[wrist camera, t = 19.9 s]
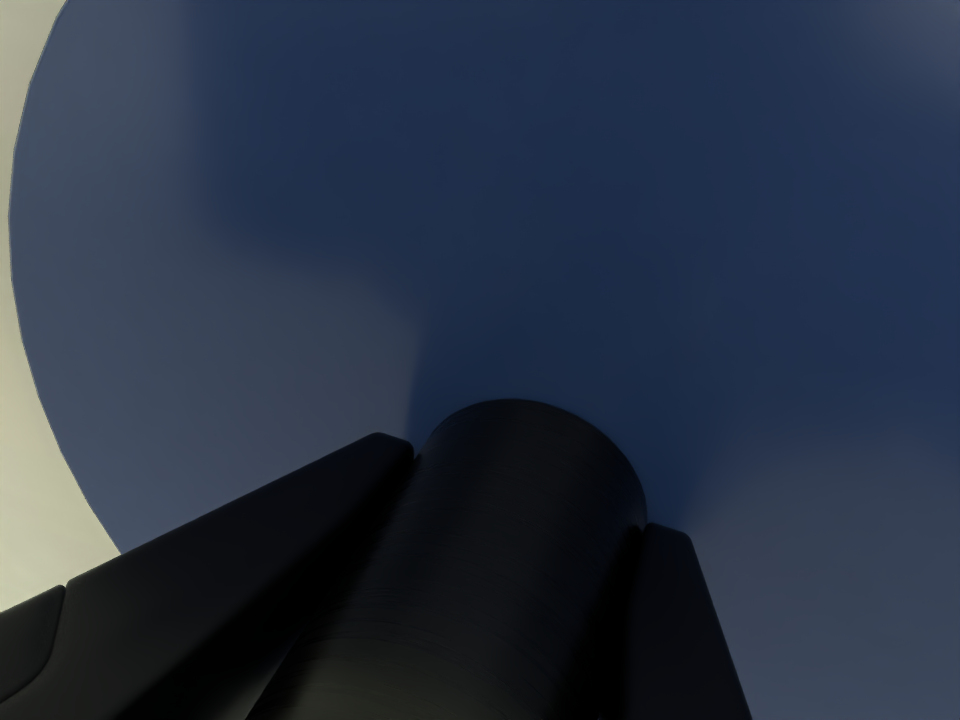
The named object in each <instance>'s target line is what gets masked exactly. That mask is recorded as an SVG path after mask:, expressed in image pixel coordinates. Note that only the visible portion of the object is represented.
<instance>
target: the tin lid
mask: <svg viewBox="0 0 960 720" xmlns="http://www.w3.org/2000/svg"><path fill="white" fill-rule="evenodd" d="M8 225H9V246H10V266H11V281H12V287H13V293H14V299H15V304H16V310H17V316H18V322H19V327H20V333H21V339H22V343H23V346H24V350H25V353H26V356H27V360H28V363H29V367H30V370H31V373H32V377H33V380H34V384H35V387H36V391H37V394H38V397H39V400H40V402H41V405H42V407H43V410H44V412H45V415H46V417H47V419H48V422H49V424H50V427H51V429H52V432H53V434H54V436H55V439H56V441H57V444H58V446H59V449H60V451H61V453H62V455H63V457H64V459H65V461H66V463H67V465H68V467H69V468H70V470H71V472H72V474H73V476H74V478H75V480H76V482H77V484H78V486H79V487H80V489H81V491H82V493H83V495H84V497H85V499H86V501H87V503H88V504H89V506H90V507H91V509H92V510H93V512H94V514H95V515H96V517H97V518H98V520H99V521H100V523H101V524H102V526H103V527H104V529H105V531H106V532H107V534H108V535H109V537H110V538H111V540H112V541H113V543H114V545H115V546H116V548H117V549H118V551H119V552H120V553H121V555H122V554H124V553H126V552H128V551H130V550H132V549H134V548H136V547H139V546H141V545H143V544H145V543H147V542H149V541H151V540H153V539H155V538H157V537H159V536H161V535H163V534H165V533H167V532H169V531H171V530H174V529H176V528H178V527H180V526H182V525H184V524H186V523H188V522H190V521H192V520H194V519H196V518H198V517H200V516H202V515H204V514H207V513H209V512H211V511H213V510H215V509H217V508H219V507H221V506H223V505H225V504H227V503H229V502H231V501H233V500H235V499H237V498H239V497H242V496H244V495H246V494H248V493H250V492H252V491H254V490H256V489H258V488H260V487H262V486H264V485H266V484H268V483H270V482H272V481H275V480H277V479H279V478H281V477H283V476H285V475H287V474H289V473H291V472H293V471H295V470H297V469H299V468H301V467H303V466H305V465H307V464H310V463H312V462H314V461H316V460H318V459H320V458H322V457H324V456H326V455H328V454H330V453H332V452H334V451H336V450H338V449H340V448H343V447H345V446H347V445H349V444H351V443H353V442H355V441H357V440H359V439H361V438H363V437H365V436H367V435H369V434H372V433H376V432H381V433H385V434H388V435H391V436H394V437H397V438H400V439H403V440H406V441H409V442H410V443H411V444H412V446H413V447H414V461H413V462H412V464H411V465H410V467H409V468H408V470H407V472H406V473H405V475H404V476H403V478H402V479H401V481H400V482H399V484H398V485H397V487H396V488H395V490H394V491H393V493H392V494H391V496H390V498H389V499H388V501H387V502H386V504H385V505H384V507H383V508H382V510H381V511H380V513H379V514H378V516H377V517H376V519H375V521H374V522H373V524H372V525H371V527H370V528H369V530H368V531H367V533H366V534H365V536H364V537H363V539H362V540H361V542H360V543H359V545H358V547H357V548H356V550H355V551H354V553H353V554H352V556H351V557H350V559H349V560H348V562H347V563H346V565H345V566H344V568H343V569H342V571H341V573H340V574H339V576H338V577H337V579H336V580H335V582H334V583H333V585H332V586H331V588H330V589H329V591H328V592H327V594H326V596H325V597H324V599H323V600H322V602H321V603H320V605H319V606H318V608H317V609H316V611H315V612H314V614H313V615H312V617H311V618H310V620H309V622H308V623H307V625H306V626H305V628H304V629H303V631H302V632H301V634H300V635H299V637H298V638H297V640H296V641H295V643H294V645H293V646H292V648H291V649H290V651H289V652H288V654H287V655H286V657H285V658H284V660H283V661H282V663H281V664H280V666H279V667H278V669H277V671H276V672H275V674H274V675H273V677H272V678H271V680H270V681H269V683H268V684H267V686H266V687H265V689H264V690H263V692H262V694H261V695H260V697H259V698H258V700H257V701H256V703H255V704H254V706H253V707H252V709H251V710H250V712H249V713H248V715H247V716H246V718H245V720H598V716H599V712H600V708H601V704H602V700H603V696H604V691H605V686H606V682H607V677H608V672H609V667H610V661H611V656H612V651H613V646H614V642H615V638H616V633H617V629H618V625H619V622H620V618H621V614H622V610H623V606H624V602H625V599H626V595H627V591H628V587H629V583H630V579H631V576H632V572H633V568H634V564H635V560H636V556H637V553H638V549H639V545H640V541H641V537H642V534H643V531H644V529H645V527H646V525H647V524H649V523H657V524H660V525H663V526H666V527H669V528H672V529H675V530H678V531H681V532H684V533H686V534H687V535H688V536H689V537H690V538H691V541H692V543H693V546H694V549H695V552H696V555H697V558H698V561H699V564H700V567H701V570H702V572H703V575H704V578H705V581H706V584H707V587H708V590H709V593H710V596H711V599H712V602H713V605H714V607H715V610H716V613H717V616H718V619H719V622H720V625H721V628H722V631H723V634H724V637H725V640H726V643H727V645H728V648H729V651H730V654H731V657H732V660H733V663H734V666H735V669H736V672H737V675H738V678H739V681H740V683H741V686H742V689H743V692H744V695H745V698H746V701H747V704H748V707H749V710H750V713H751V716H752V718H753V720H960V0H66V2H65V3H64V5H63V7H62V8H61V10H60V12H59V13H58V15H57V16H56V19H55V21H54V24H53V26H52V29H51V31H50V34H49V36H48V39H47V41H46V44H45V46H44V48H43V51H42V53H41V56H40V58H39V61H38V63H37V66H36V68H35V71H34V73H33V76H32V78H31V81H30V83H29V87H28V91H27V95H26V100H25V104H24V108H23V113H22V117H21V121H20V125H19V130H18V134H17V138H16V143H15V147H14V152H13V164H12V175H11V187H10V199H9V211H8Z"/></svg>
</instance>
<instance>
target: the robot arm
mask: <svg viewBox="0 0 960 720" xmlns="http://www.w3.org/2000/svg"><path fill="white" fill-rule="evenodd" d="M413 461H414V447H413V446H412V444H411V443H410V442H409V441H406V440H403V439H400V438H397V437H394V436H391V435H388V434H385V433H381V432H376V433H372V434H369V435H367V436H365V437H363V438H361V439H359V440H357V441H355V442H353V443H351V444H349V445H347V446H345V447H343V448H340V449H338V450H336V451H334V452H332V453H330V454H328V455H326V456H324V457H322V458H320V459H318V460H316V461H314V462H312V463H310V464H307V465H305V466H303V467H301V468H299V469H297V470H295V471H293V472H291V473H289V474H287V475H285V476H283V477H281V478H279V479H277V480H275V481H272V482H270V483H268V484H266V485H264V486H262V487H260V488H258V489H256V490H254V491H252V492H250V493H248V494H246V495H244V496H242V497H239V498H237V499H235V500H233V501H231V502H229V503H227V504H225V505H223V506H221V507H219V508H217V509H215V510H213V511H211V512H209V513H207V514H204V515H202V516H200V517H198V518H196V519H194V520H192V521H190V522H188V523H186V524H184V525H182V526H180V527H178V528H176V529H174V530H171V531H169V532H167V533H165V534H163V535H161V536H159V537H157V538H155V539H153V540H151V541H149V542H147V543H145V544H143V545H141V546H139V547H136V548H134V549H132V550H130V551H128V552H126V553H124V554H122V555H120V556H118V557H116V558H114V559H112V560H110V561H108V562H106V563H103V564H101V565H99V566H97V567H95V568H93V569H91V570H89V571H87V572H85V573H83V574H81V575H79V576H77V577H75V578H73V579H71V580H69V581H68V583H67V585H66V588H65V587H64V586H63V585H58V586H55V587H53V588H51V589H49V590H47V591H45V592H43V593H41V594H39V595H37V596H35V597H33V598H31V599H29V600H27V601H24V602H22V603H20V604H18V605H16V606H14V607H12V608H10V609H7V610H5V611H3V612H1V613H0V720H245V718H246V716H247V715H248V713H249V712H250V710H251V709H252V707H253V706H254V704H255V703H256V701H257V700H258V698H259V697H260V695H261V694H262V692H263V690H264V689H265V687H266V686H267V684H268V683H269V681H270V680H271V678H272V677H273V675H274V674H275V672H276V671H277V669H278V667H279V666H280V664H281V663H282V661H283V660H284V658H285V657H286V655H287V654H288V652H289V651H290V649H291V648H292V646H293V645H294V643H295V641H296V640H297V638H298V637H299V635H300V634H301V632H302V631H303V629H304V628H305V626H306V625H307V623H308V622H309V620H310V618H311V617H312V615H313V614H314V612H315V611H316V609H317V608H318V606H319V605H320V603H321V602H322V600H323V599H324V597H325V596H326V594H327V592H328V591H329V589H330V588H331V586H332V585H333V583H334V582H335V580H336V579H337V577H338V576H339V574H340V573H341V571H342V569H343V568H344V566H345V565H346V563H347V562H348V560H349V559H350V557H351V556H352V554H353V553H354V551H355V550H356V548H357V547H358V545H359V543H360V542H361V540H362V539H363V537H364V536H365V534H366V533H367V531H368V530H369V528H370V527H371V525H372V524H373V522H374V521H375V519H376V517H377V516H378V514H379V513H380V511H381V510H382V508H383V507H384V505H385V504H386V502H387V501H388V499H389V498H390V496H391V494H392V493H393V491H394V490H395V488H396V487H397V485H398V484H399V482H400V481H401V479H402V478H403V476H404V475H405V473H406V472H407V470H408V468H409V467H410V465H411V464H412V462H413ZM598 720H753V718H752V716H751V713H750V710H749V707H748V704H747V701H746V698H745V695H744V692H743V689H742V686H741V683H740V681H739V678H738V675H737V672H736V669H735V666H734V663H733V660H732V657H731V654H730V651H729V648H728V645H727V643H726V640H725V637H724V634H723V631H722V628H721V625H720V622H719V619H718V616H717V613H716V610H715V607H714V605H713V602H712V599H711V596H710V593H709V590H708V587H707V584H706V581H705V578H704V575H703V572H702V570H701V567H700V564H699V561H698V558H697V555H696V552H695V549H694V546H693V543H692V541H691V538H690V537H689V536H688V535H687V534H686V533H684V532H681V531H678V530H675V529H672V528H669V527H666V526H663V525H660V524H657V523H649V524H647V525H646V527H645V529H644V531H643V534H642V537H641V541H640V545H639V549H638V553H637V556H636V560H635V564H634V568H633V572H632V576H631V579H630V583H629V587H628V591H627V595H626V599H625V602H624V606H623V610H622V614H621V618H620V622H619V625H618V629H617V633H616V638H615V642H614V646H613V651H612V656H611V661H610V667H609V672H608V677H607V682H606V686H605V691H604V696H603V700H602V704H601V708H600V712H599V716H598Z"/></svg>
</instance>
